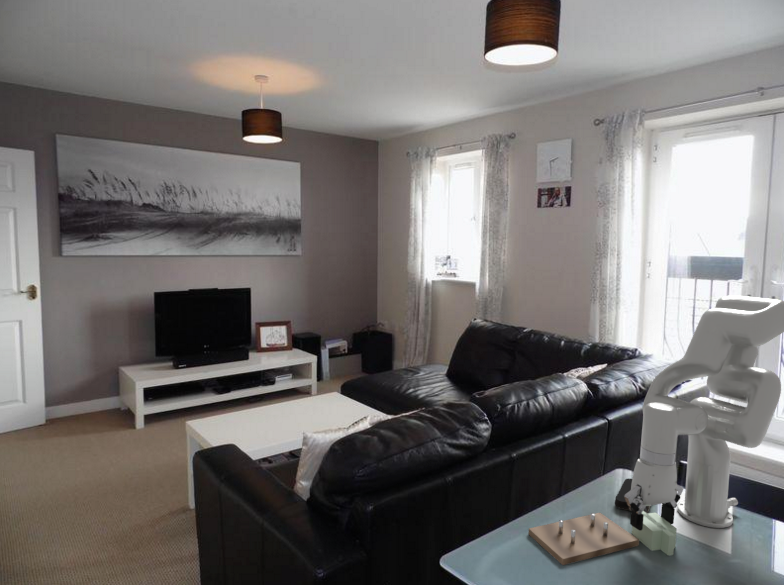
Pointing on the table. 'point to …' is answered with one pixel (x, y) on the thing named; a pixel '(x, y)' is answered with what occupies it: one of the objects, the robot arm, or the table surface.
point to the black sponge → (620, 498)
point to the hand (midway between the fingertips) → (651, 524)
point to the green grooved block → (656, 533)
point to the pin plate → (582, 538)
